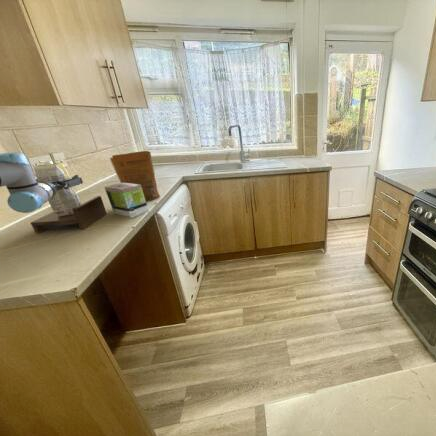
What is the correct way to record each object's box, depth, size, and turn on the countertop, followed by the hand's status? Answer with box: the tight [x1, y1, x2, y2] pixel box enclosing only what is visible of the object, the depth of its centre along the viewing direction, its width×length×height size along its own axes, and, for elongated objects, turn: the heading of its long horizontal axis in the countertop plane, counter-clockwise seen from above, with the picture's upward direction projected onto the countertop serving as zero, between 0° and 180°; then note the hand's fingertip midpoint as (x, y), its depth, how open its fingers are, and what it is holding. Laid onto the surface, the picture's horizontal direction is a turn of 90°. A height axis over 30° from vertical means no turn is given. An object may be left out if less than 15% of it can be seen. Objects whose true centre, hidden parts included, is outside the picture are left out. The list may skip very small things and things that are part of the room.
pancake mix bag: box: [109, 150, 161, 202], centre depth 138 cm, size 7×19×28 cm, turn 116°
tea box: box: [104, 182, 149, 219], centre depth 123 cm, size 15×10×15 cm, turn 63°
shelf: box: [30, 195, 108, 234], centre depth 114 cm, size 20×18×10 cm
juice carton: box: [33, 160, 82, 217], centre depth 109 cm, size 9×8×24 cm
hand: (59, 179), depth 111 cm, fingers open, 13 cm apart
